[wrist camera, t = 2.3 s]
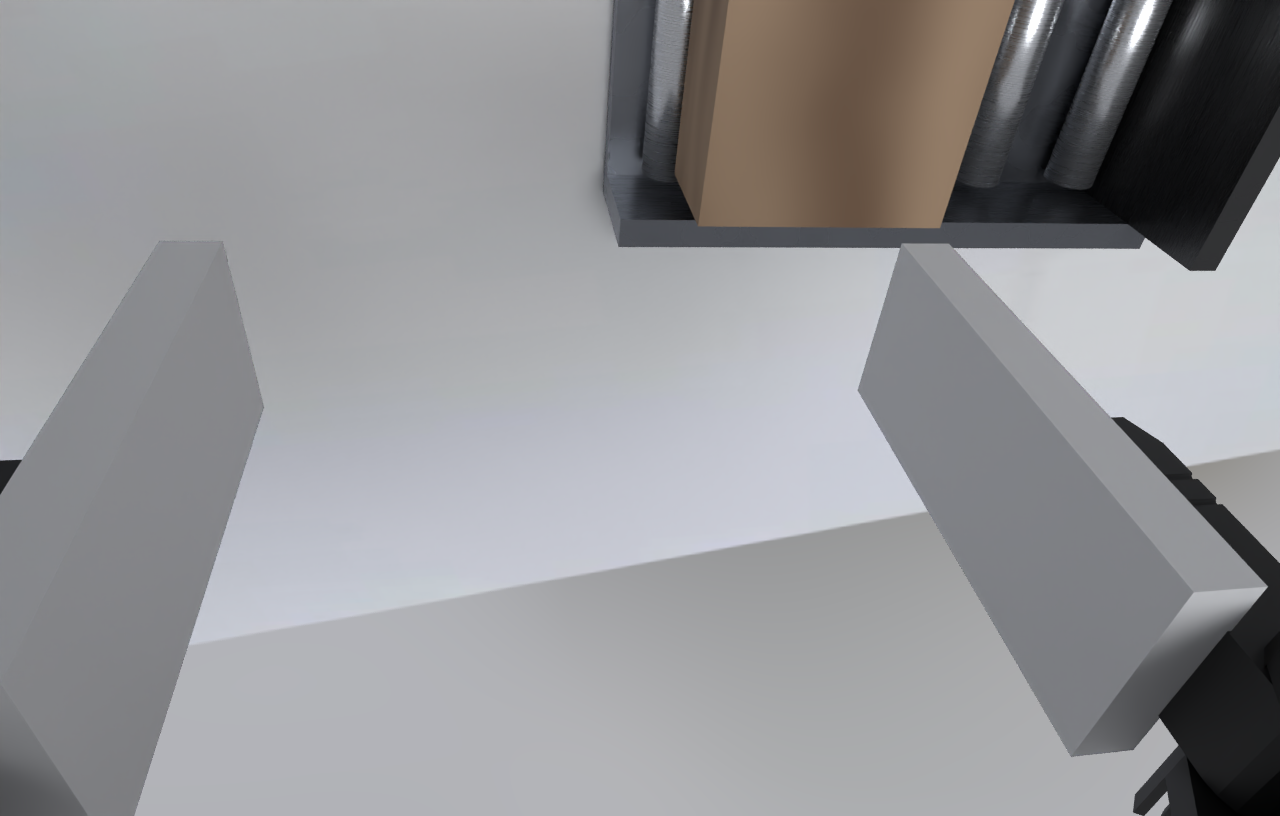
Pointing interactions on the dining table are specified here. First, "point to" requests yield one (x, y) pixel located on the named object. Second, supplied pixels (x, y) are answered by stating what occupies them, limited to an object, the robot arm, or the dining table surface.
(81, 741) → the robot arm
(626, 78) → the roller bed
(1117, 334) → the dining table surface
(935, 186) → the slab
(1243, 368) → the dining table surface
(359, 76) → the dining table surface
